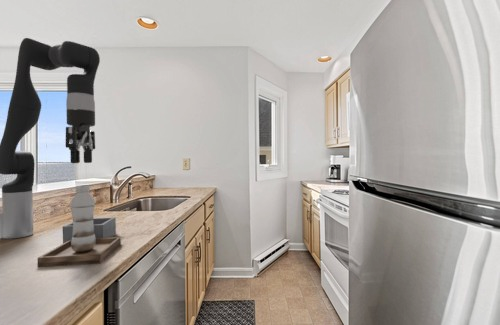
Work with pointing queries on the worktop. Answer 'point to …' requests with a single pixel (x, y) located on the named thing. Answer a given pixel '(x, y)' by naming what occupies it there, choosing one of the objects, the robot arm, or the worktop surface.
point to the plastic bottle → (83, 220)
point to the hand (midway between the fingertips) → (81, 163)
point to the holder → (101, 228)
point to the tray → (79, 253)
